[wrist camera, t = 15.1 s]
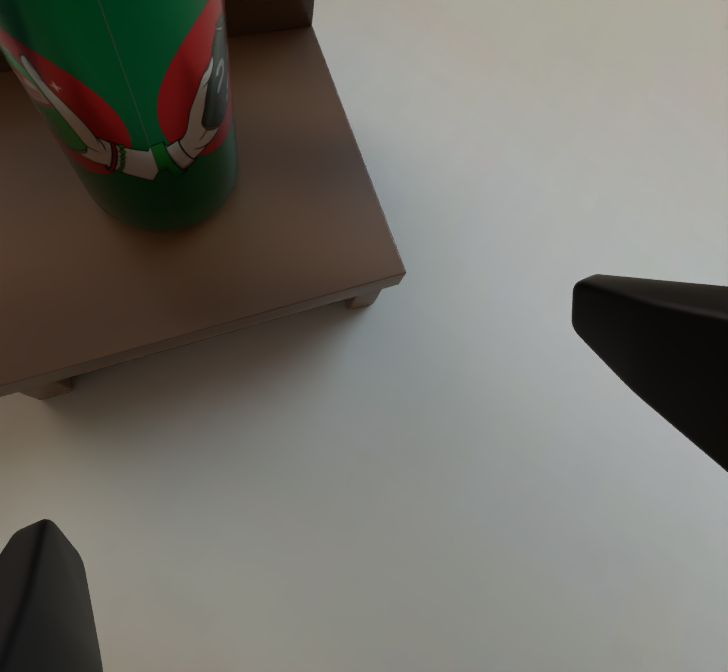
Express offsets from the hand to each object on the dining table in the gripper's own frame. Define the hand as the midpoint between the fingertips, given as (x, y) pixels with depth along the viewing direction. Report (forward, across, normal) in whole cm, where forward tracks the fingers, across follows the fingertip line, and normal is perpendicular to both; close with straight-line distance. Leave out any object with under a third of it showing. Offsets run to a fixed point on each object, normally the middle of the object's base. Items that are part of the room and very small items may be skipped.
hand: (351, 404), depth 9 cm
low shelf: (+17, +1, +2) cm, 17 cm away
